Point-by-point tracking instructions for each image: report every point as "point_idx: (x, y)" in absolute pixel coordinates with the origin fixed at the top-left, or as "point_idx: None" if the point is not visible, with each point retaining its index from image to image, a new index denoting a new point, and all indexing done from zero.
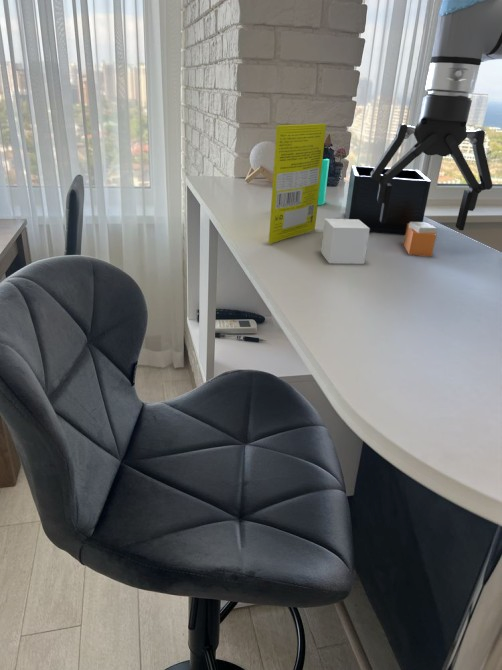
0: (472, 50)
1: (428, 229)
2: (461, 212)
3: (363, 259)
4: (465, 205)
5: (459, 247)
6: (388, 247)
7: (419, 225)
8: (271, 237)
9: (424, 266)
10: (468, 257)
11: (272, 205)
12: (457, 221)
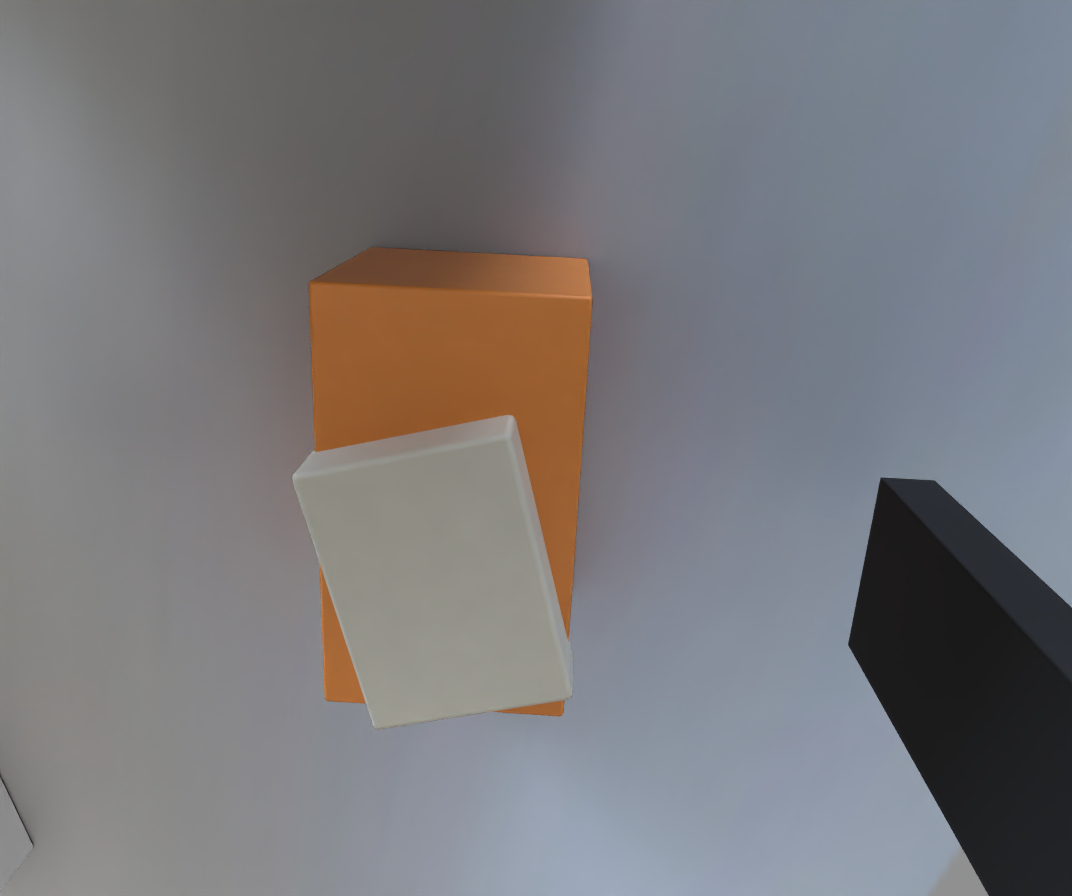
0: None
1: (476, 708)
2: (940, 696)
3: (5, 872)
4: (979, 877)
5: (970, 217)
6: (214, 401)
7: (386, 631)
8: None
9: (452, 819)
10: None
11: None
12: (900, 539)
